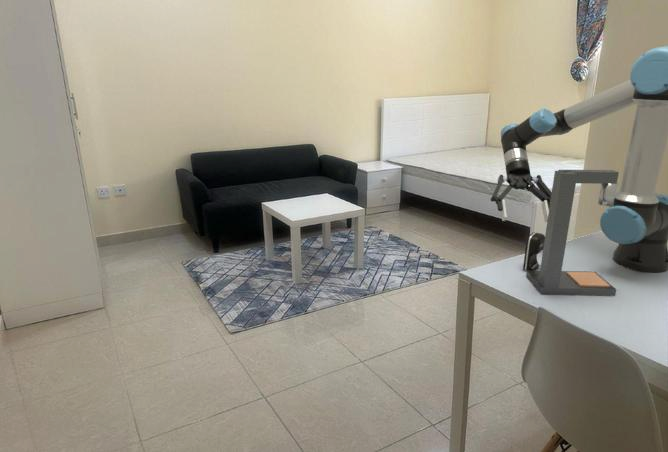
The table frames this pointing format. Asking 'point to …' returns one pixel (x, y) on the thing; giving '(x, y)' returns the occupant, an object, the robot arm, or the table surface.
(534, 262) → the battery charger
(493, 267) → the table surface
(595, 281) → the pad
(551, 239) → the arbor press
